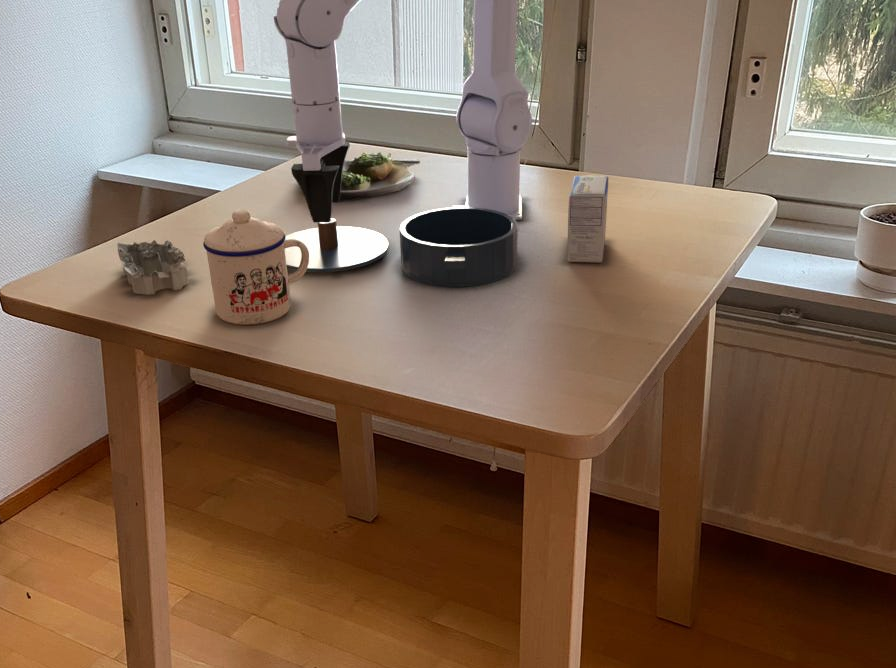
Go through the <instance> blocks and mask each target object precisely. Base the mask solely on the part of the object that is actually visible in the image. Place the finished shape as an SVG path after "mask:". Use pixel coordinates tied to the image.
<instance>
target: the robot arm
mask: <svg viewBox="0 0 896 668" xmlns="http://www.w3.org/2000/svg"><path fill="white" fill-rule="evenodd" d="M361 1H362V0H279V3H278V7H276V8H277V9H276V15H275V16H273V22H274V25H275V29H276V31H277V32H278V33H279V34H280V36H281V37H283V39H284V41H285V47H286V54H287V65H288V75H289V83H290V84H289V86H290V93H291V103H292V104H291V105H292V111H293V120H294V121H293V122H294V130H295V135H290V136H288V137H287V138H286V145H287V146H289V147H295V148H296V149H297V150H298V152H299V153H300V155H301V163H293V164H292V166H291V168H290V169H291V174H292V177H293V178H294V180H295V181H296V183H297V184H298V186H299V187H300V190H301V191H302V195H303V196H304V198H305V201H306V205H307V208H308V210H309V214H310V217H311V219H312V222H313V223H318V222H330V219H331V218H332V213H333V203H339V202H340V201H339V199H340V193H341V183H342V172H343V166H344V161H345V160H346V158H347V154H348V151H349V149H350V146H351V145H350V144H351V143H350V141H348V140H346V137H345V136H346V135H345V133H344V132H343V130H344V129H343V118H342V107H341V106H342V105H341V94H340V85H339V83H340V82H339V72H338V71H339V70H338V59H337V48H336V47H337V46H336V40H338V39H339V38H340V37H341V35H342V32H343V30H344V25H345V19H346V17H347V16H348V15H349V13H351V12H352V11H353V9H354V8H355V7H356V6H357V5H358V4H359V3H360V2H361ZM517 23H518V0H473V51H472V52H473V53H472V54H473V59H472V73H471V74H470V75H469V77H468V78H467V79H466V80H465V82H464V83H463V84H462V87H461V89H462V90H461V91H462V93H461V95H462V96H461V98H460V102H459V105H458V107H457V111H456V117H455V119H456V120H455V121H456V126H457V129H458V131H459V133H460V134H461V135H462V136H463V137H464V138H465V139H464V141H465V142H464V143H465V146H466V147H467V150H466V151H467V152H466V153H467V159H466V161H467V196H466V199H465V206H471V207H474V208H484V209H490V210H495V211H499V212H502V213H505V214H507V215H509V216H511V217H512V218H514V220H515V221H520V220H522V219H523V196H522V195H520V182H521V181H520V177H521V176H520V175H521V152H522V151H524V146H525V144H526V143H527V142H528V140H529V138H530V135H531V133H532V128H533V117H532V114H531V111H530V108H529V103H528V101H529V100H528V99H529V98H528V97H529V95H528V94H529V92H528V90H527V89H526V87H525V86H524V84H523V83H522V81H521V80H520V79H519V77H518V75H517V74H516V51H517V49H516V48H517V25H518V24H517Z"/></svg>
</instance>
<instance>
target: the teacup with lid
mask: <svg viewBox="0 0 896 668" xmlns="http://www.w3.org/2000/svg"><path fill="white" fill-rule="evenodd" d="M285 236H286V234H285V232H284V230H283V229H282V228H281V227H280V226H279V225H277V224H275V223H273V222H269V221H262V220H260V219H259V218H256V217H251V213H250V211H249V210H247V209H237V210H234V211H233V212H232V214H231V219H229V220H227V221H225V222H224V223H223V224H221V225H219V226H216V227H214V228H212V229H210V230H209V231H208V232H207V233H206V234H205V235H204V238H203V242H202V243H203V248H204V249H205V251H206V257H207V263H208V264H207V265H208V269H209V276H210V282H211V288H212V294H213V295H212V296H213V301H214V307H215V312H216V315H217V317H219V318H220V319H221V320H222V321H224V322H226V323H228V324H229V323H230V324H235V325H241V326H242V325H245V326H247V325H248V326H249V325H260V324H265V323H270V322H273V321H275V320H277V319H280V318H281V317H283V316H284V315H286V314H287V313H288V312H289V311H290V309H291V306H292V305H291V304H292V301H291V294H290V284H292V283H295V282H297V281H299V280H300V279H302V277H303V276H304V275H305V273H307V272H306V270H307V267H308V264H309V251H308V248H307V247H306V245H305V244H304V243H302V242H301V241H299V240H296V239H288V240H285ZM289 247H299V248H300V250H301V262H300V265H299V267H298V269H297V270H294V272H292V273H290V274H288V268H287V266H286V257H285V248H289Z"/></svg>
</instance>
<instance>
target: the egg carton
mask: <svg viewBox="0 0 896 668" xmlns="http://www.w3.org/2000/svg"><path fill="white" fill-rule="evenodd" d="M116 246H117V254H118V257H119V260H120V263H121V267H122V270H123V274H124V275H125V276H126V277H127V280H128V281H127V282H128V284H129V285H131V286H132V291H133V293H134V294H139V295H145V296H150V295H155V294H156V292H157V291H160V290H165V289H170V290H173V291H178V290H182V288H183V287H184V286H186V285H188V284H189V273H188V268H187V266H186V265H185V261H186V259H185V254H184V252H183V251H181V249H180V248H178V247H176V246H174V245H173V242H172V241H170V240H165V242H164V243H161V244H160V243H157V241H156V239H154V240H152V241H150V242H147V241H143V242H136V241H134V242H133V244H130V243H129V244H127V243H120V242H118V243H117V245H116Z"/></svg>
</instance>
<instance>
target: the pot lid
mask: <svg viewBox="0 0 896 668" xmlns="http://www.w3.org/2000/svg"><path fill="white" fill-rule="evenodd" d="M288 239H296V240H299V241H301V242H302V243H304V244H305V245H306V247H307V248H308V251H309V264H308V267H307V270H306V272H305V273H335V272H341V271H342V272H343V271H349V270H352V269H353V270H354V269H357V268H361V267H364V266H367V265H368V266H369V265H370V264H372V263H375V262H377V261H378V260H380V259H381V258H383V257H385V255H386V254H387V252H388V251H389V245H390V244H389V241H388V239H387V237H385V236H384V235H383V234H382V233H379V232H377V231H375V230H371V229H367V228H363V227H357V226H347V225H346V226H345V225H344V226H343V225H340V226H339V225H337V220H336V218H333V217H331V219H330V222H317V227H314V228H307V229H304V230H299V231H296V232H292V233H290V234H287V235H285V240H288ZM285 257H286V266H287V270H288V269H289V270H292V271H296V270H297V269H298V267H299V265H300V262H301V250H300V248H299V247H289V248H285Z"/></svg>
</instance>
